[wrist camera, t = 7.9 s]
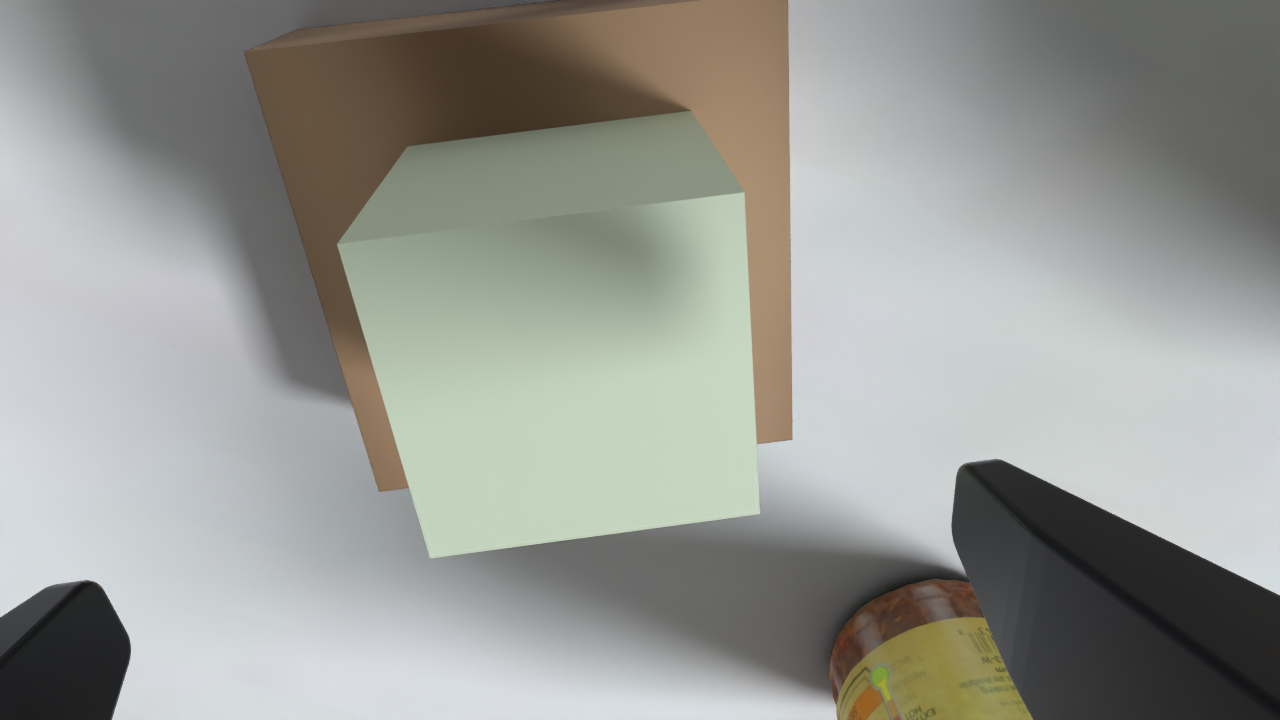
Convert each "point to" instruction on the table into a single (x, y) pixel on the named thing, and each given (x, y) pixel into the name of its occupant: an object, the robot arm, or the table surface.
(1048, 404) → the table surface
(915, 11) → the table surface
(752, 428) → the sage cube
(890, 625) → the sauce bottle
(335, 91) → the walnut block
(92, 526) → the table surface
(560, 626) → the table surface
